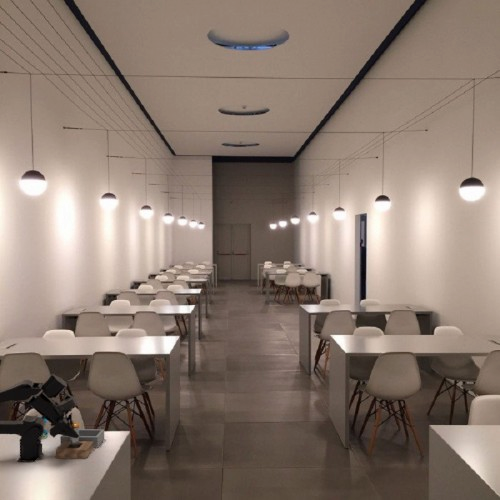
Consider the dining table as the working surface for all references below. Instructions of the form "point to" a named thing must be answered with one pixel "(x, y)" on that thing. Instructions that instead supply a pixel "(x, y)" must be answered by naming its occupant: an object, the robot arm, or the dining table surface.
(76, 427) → the stop pin
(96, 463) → the dining table surface
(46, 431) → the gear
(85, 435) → the tray
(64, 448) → the wooden socket block
